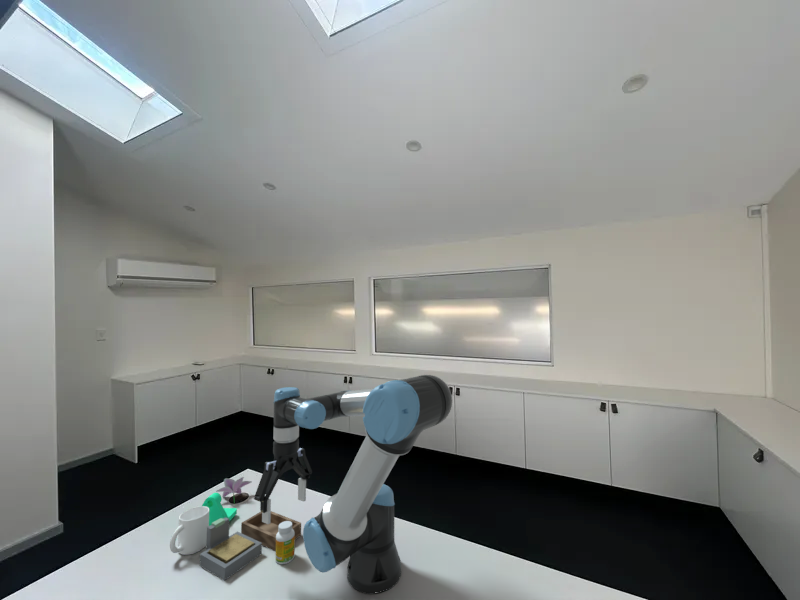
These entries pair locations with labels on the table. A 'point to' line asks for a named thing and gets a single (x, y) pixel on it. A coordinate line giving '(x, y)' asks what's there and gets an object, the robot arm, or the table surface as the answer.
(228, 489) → the lily
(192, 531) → the mug
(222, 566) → the grey stepped block
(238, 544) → the contact pad
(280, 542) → the supplement bottle
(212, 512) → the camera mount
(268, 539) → the trough
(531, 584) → the table surface
